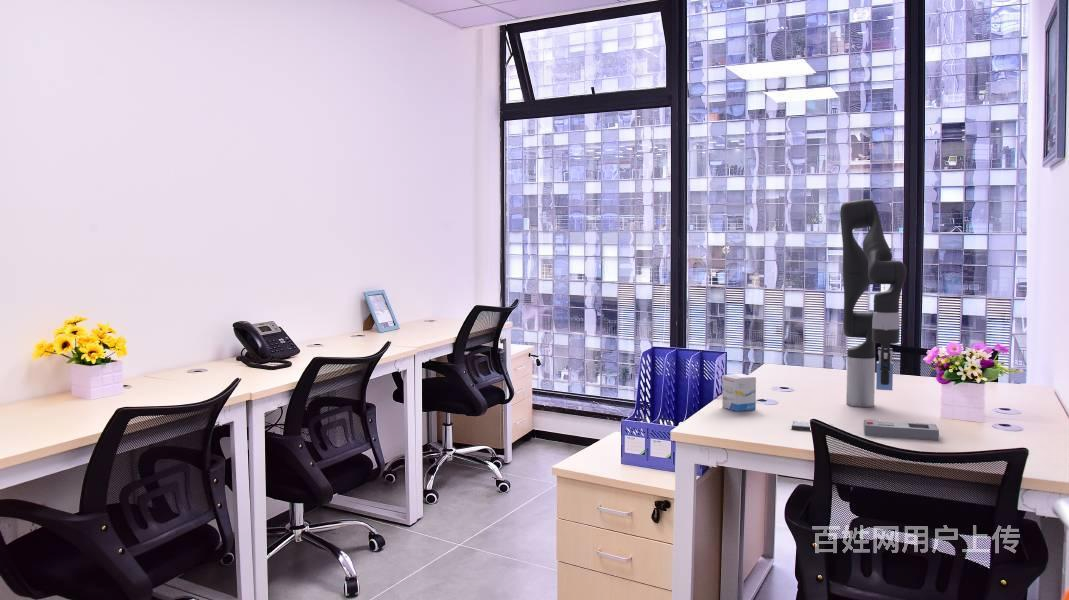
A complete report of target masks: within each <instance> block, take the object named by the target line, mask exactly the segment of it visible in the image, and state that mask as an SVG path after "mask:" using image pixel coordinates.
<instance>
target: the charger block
mask: <svg viewBox="0 0 1069 600" xmlns="http://www.w3.org/2000/svg"><path fill="white" fill-rule="evenodd" d="M883 367H888V365H887V364H883ZM880 368H881V364H879V360H876V374H875V381H876V382H875V383H876V384H875V385H876V386H875V389H876V390H879V391H893V384H894V383H893V377H894V375H893V373H894V372H893V371H894V363H893V361H892V363H891V365H890V372H889V384H888V385H882V384H881V371H880Z"/></svg>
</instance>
